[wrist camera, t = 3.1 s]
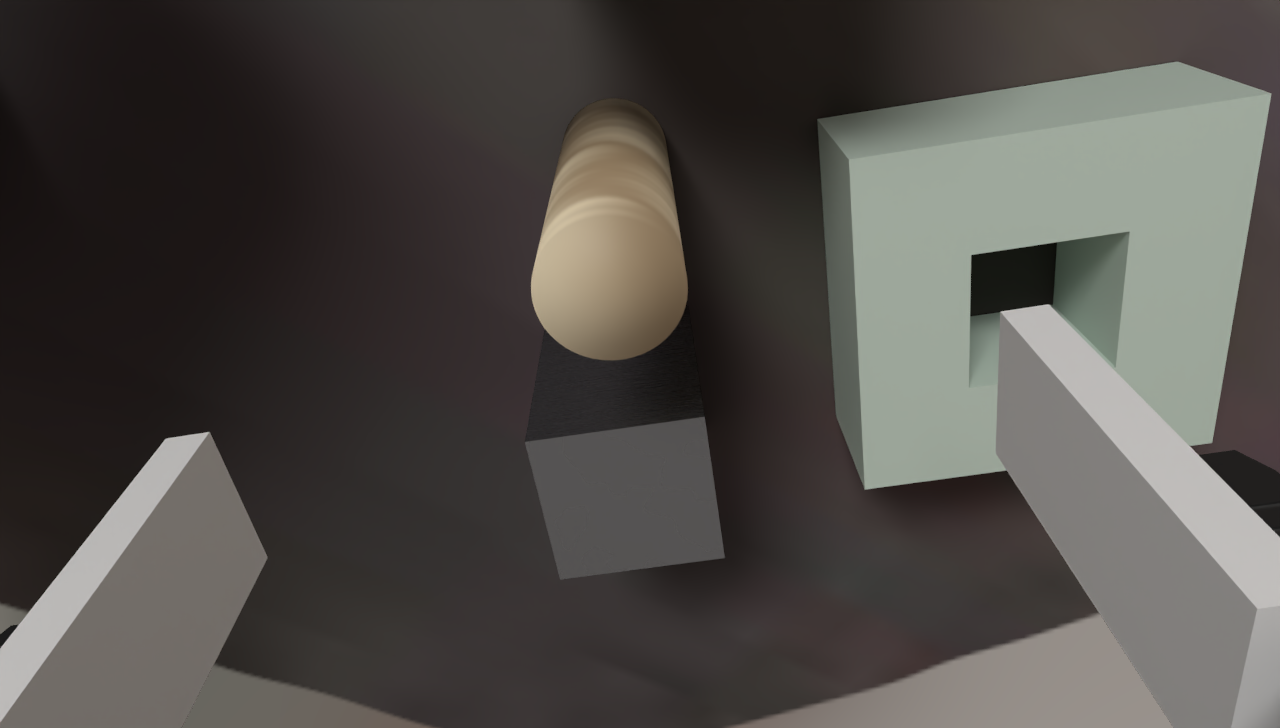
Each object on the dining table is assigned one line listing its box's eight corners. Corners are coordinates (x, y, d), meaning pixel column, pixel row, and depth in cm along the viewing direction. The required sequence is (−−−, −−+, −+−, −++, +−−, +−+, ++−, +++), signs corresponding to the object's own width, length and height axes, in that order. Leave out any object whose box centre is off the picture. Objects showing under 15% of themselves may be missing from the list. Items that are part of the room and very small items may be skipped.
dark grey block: (572, 446, 37) (560, 579, 30) (544, 326, 35) (524, 441, 28) (705, 427, 37) (725, 557, 30) (688, 305, 34) (704, 417, 27)
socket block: (835, 415, 37) (864, 489, 32) (817, 118, 31) (848, 159, 27) (1140, 373, 36) (1212, 442, 32) (1177, 61, 30) (1271, 93, 26)
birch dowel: (573, 208, 32) (548, 370, 22) (552, 107, 31) (515, 229, 20) (673, 192, 32) (697, 348, 22) (658, 90, 31) (676, 204, 20)
